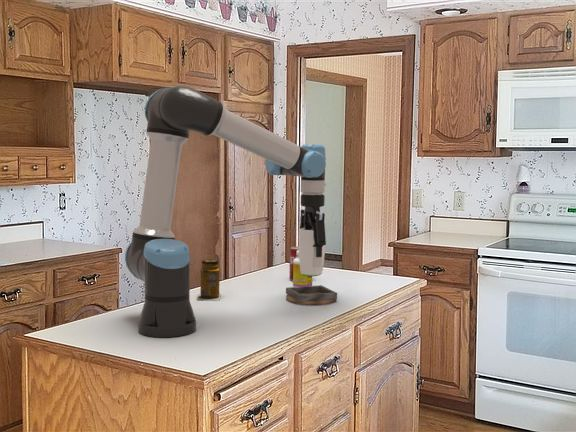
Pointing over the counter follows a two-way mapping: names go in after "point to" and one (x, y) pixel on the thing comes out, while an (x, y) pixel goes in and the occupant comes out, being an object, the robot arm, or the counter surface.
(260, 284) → the counter surface
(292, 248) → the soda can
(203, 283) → the condiment
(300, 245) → the cup
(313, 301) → the dark brown tray
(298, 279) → the supplement bottle
